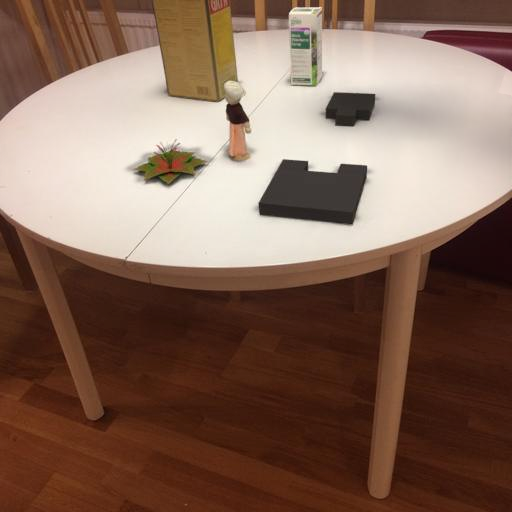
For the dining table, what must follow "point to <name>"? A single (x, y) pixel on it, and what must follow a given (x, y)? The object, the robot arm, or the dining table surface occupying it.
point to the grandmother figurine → (236, 121)
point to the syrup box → (305, 45)
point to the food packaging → (196, 47)
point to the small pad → (350, 107)
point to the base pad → (314, 193)
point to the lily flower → (170, 164)
